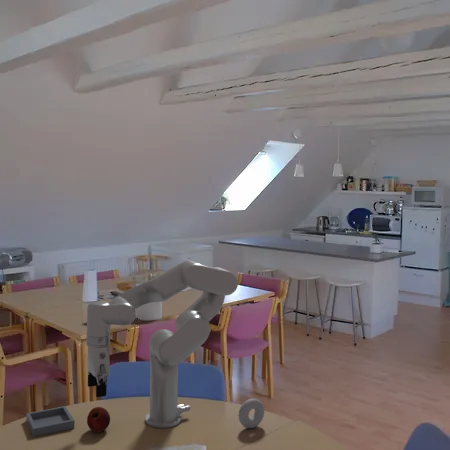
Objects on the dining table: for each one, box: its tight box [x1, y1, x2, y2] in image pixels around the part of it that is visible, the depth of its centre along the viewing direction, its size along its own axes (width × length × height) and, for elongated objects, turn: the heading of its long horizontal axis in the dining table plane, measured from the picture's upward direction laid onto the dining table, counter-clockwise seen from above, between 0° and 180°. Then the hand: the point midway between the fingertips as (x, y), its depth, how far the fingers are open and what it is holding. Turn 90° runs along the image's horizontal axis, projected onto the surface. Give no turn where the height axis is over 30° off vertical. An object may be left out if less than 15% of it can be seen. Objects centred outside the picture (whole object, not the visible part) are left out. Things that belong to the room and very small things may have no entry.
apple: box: [86, 406, 111, 433], centre depth 169 cm, size 7×8×8 cm
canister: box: [135, 301, 163, 321], centre depth 321 cm, size 16×16×20 cm
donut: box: [238, 397, 266, 429], centre depth 173 cm, size 10×4×10 cm, turn 122°
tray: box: [26, 405, 75, 438], centre depth 173 cm, size 13×13×3 cm
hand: (96, 391), depth 168 cm, fingers open, 9 cm apart
